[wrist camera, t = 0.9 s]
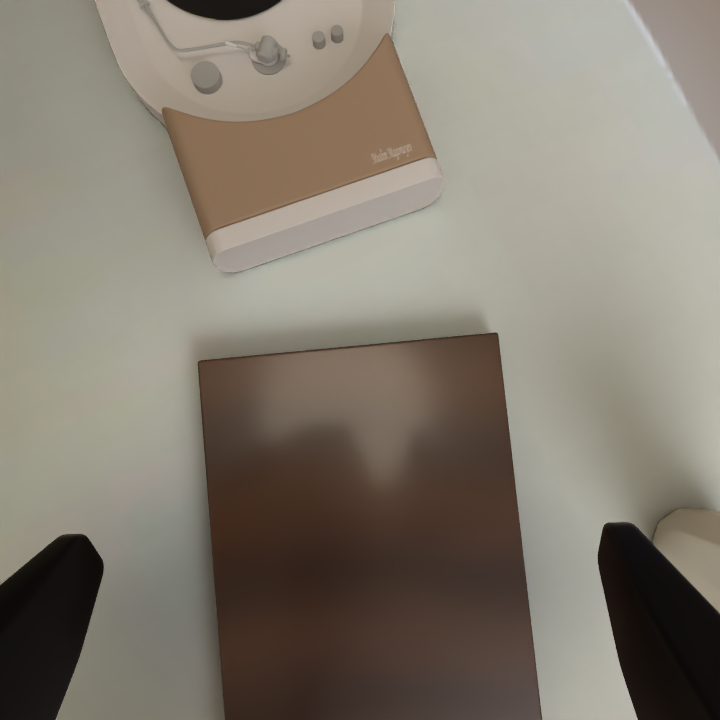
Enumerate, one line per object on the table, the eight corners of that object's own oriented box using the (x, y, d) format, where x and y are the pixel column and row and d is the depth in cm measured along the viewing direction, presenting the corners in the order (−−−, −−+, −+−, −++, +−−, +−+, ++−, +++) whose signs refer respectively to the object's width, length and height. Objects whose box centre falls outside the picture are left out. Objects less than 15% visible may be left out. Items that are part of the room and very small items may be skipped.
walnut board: (543, 786, 22) (552, 805, 20) (239, 820, 21) (233, 841, 20) (492, 334, 23) (498, 332, 22) (203, 362, 22) (196, 360, 21)
